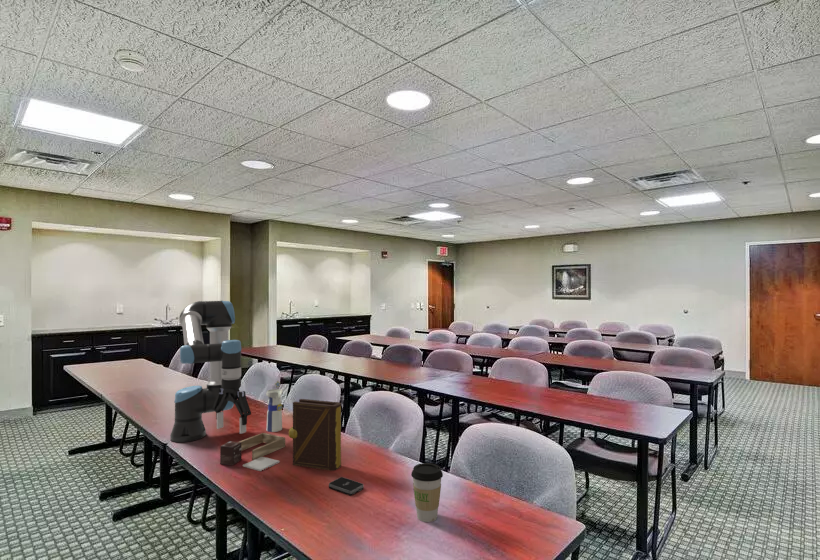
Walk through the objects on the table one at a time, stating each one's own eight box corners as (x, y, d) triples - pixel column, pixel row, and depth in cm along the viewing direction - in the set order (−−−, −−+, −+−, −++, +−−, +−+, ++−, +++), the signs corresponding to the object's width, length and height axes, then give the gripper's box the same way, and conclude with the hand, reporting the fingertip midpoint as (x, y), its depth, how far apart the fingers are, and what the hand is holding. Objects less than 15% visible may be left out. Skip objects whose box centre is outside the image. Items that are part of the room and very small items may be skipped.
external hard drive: (350, 497, 152) (351, 491, 152) (327, 489, 158) (327, 483, 158) (364, 489, 158) (364, 484, 158) (341, 482, 164) (341, 476, 164)
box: (232, 465, 179) (233, 447, 179) (219, 464, 180) (219, 446, 180) (241, 459, 184) (241, 442, 185) (228, 458, 186) (229, 441, 186)
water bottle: (287, 427, 226) (287, 378, 226) (275, 433, 218) (275, 381, 218) (274, 425, 229) (274, 377, 230) (262, 430, 222) (262, 380, 222)
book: (343, 464, 180) (344, 402, 180) (333, 472, 172) (333, 407, 172) (296, 457, 187) (297, 397, 187) (284, 465, 179) (285, 402, 179)
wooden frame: (230, 454, 190) (230, 444, 191) (262, 441, 206) (262, 432, 206) (253, 460, 184) (253, 450, 184) (285, 446, 200) (285, 437, 200)
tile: (242, 466, 178) (242, 464, 178) (262, 457, 186) (262, 456, 186) (260, 471, 173) (260, 469, 173) (279, 462, 182) (279, 460, 182)
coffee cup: (410, 509, 143) (410, 462, 143) (440, 508, 144) (440, 461, 144) (412, 526, 133) (412, 475, 133) (445, 524, 134) (445, 474, 134)
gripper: (203, 377, 185) (203, 428, 185) (245, 382, 174) (245, 437, 173) (218, 374, 192) (218, 423, 192) (260, 379, 180) (260, 432, 180)
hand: (231, 430), depth 182 cm, fingers open, 13 cm apart
